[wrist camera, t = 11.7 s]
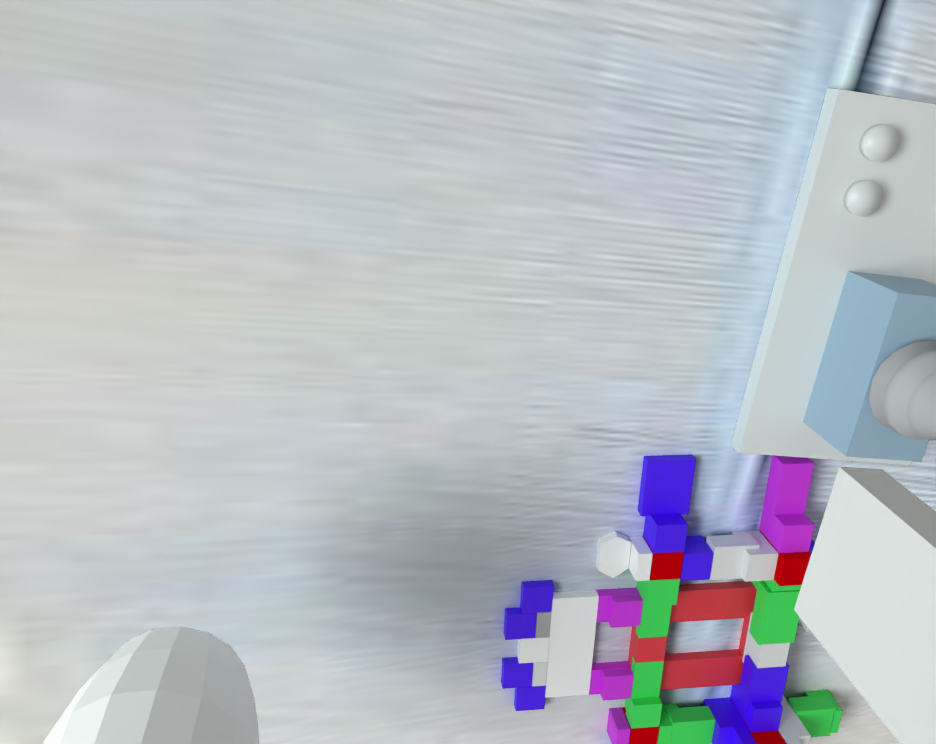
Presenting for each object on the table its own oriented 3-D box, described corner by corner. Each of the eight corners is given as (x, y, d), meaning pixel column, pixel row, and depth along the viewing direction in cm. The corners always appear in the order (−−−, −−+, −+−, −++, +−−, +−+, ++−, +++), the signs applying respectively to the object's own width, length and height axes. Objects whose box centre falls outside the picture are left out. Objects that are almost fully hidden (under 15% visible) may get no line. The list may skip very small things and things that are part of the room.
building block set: (511, 455, 43) (528, 499, 39) (878, 444, 46) (930, 483, 42) (491, 814, 52) (504, 881, 48) (800, 787, 55) (837, 847, 51)
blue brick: (847, 271, 40) (898, 292, 36) (921, 279, 41) (978, 301, 37) (802, 421, 43) (845, 456, 39) (872, 427, 44) (920, 461, 40)
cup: (139, 589, 42) (-36, 1033, 23) (145, 463, 40) (-43, 840, 21) (283, 599, 44) (231, 1026, 25) (298, 477, 41) (254, 844, 22)
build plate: (827, 88, 38) (846, 89, 36) (1017, 118, 40) (1043, 120, 38) (730, 444, 44) (743, 457, 42) (899, 456, 46) (917, 470, 44)
